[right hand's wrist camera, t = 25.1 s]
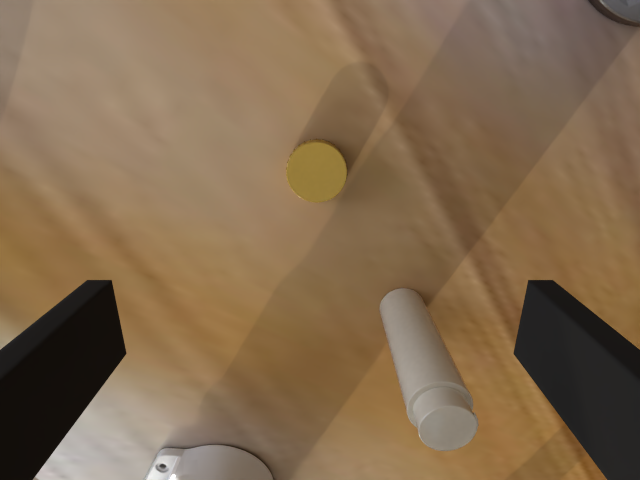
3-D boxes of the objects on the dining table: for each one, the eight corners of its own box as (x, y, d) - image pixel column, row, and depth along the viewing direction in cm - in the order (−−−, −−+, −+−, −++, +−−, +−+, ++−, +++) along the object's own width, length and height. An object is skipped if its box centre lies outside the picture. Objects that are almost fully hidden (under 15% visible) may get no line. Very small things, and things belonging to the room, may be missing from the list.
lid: (356, 153, 38) (358, 156, 36) (331, 206, 40) (332, 212, 38) (301, 128, 37) (300, 130, 35) (278, 183, 39) (276, 188, 37)
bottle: (390, 333, 45) (428, 464, 29) (372, 299, 43) (402, 417, 28) (431, 316, 44) (492, 440, 28) (414, 280, 43) (469, 391, 27)
